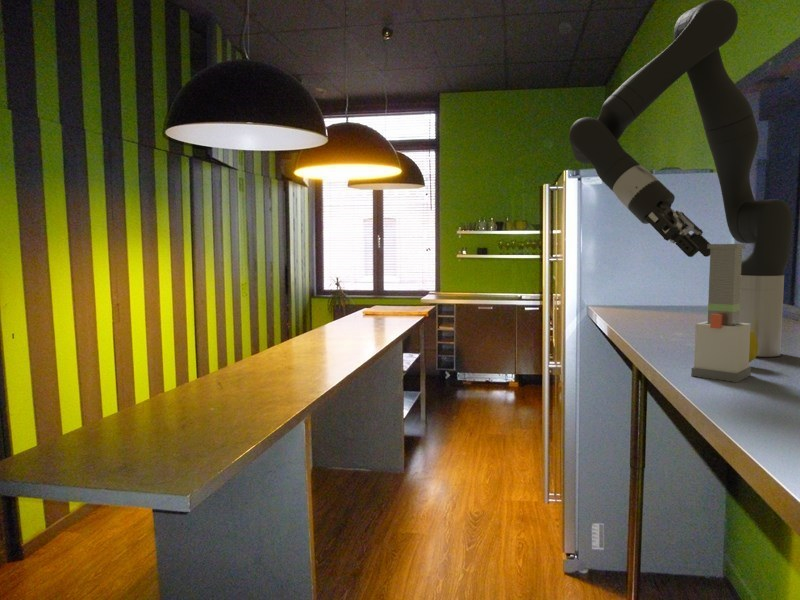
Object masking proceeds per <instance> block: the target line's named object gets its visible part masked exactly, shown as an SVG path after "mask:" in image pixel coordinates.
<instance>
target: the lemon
mask: <svg viewBox="0 0 800 600" xmlns="http://www.w3.org/2000/svg"><path fill="white" fill-rule="evenodd" d="M757 353H758V341H757V337H756V335H755V334H754V333H753V332H752V331H751V330H750V349H749V363H751V362H752V361H753V360H754V359H756V358H757V356H756V355H757Z"/></svg>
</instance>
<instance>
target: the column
mask: <svg viewBox="0 0 800 600" xmlns="http://www.w3.org/2000/svg"><path fill="white" fill-rule="evenodd" d="M707 249H710V256H709V279H708V281H709V282H708V300H707V301H708V302H707V321H708V324H710V323H711V314H722V325H725V326H737V325H739V310H740V287H741V264H742V257H743V249H746V243H713V244H712V243H710V244H707Z"/></svg>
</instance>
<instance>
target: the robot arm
mask: <svg viewBox="0 0 800 600" xmlns="http://www.w3.org/2000/svg"><path fill="white" fill-rule="evenodd" d="M738 15H739V14H738V11H737V9H736V8H735V6H734V5H733V4H732V3H731V2H729V1H728V0H708V1H704V2H702V3H700V4H698V5H696V6H695V7H692V8H690V9H689V10H687V11H685V12H684V13H683V14H681V15H680V16H679V17H678V19H677V20H676V23H675V25H674V29H673V41H672V42H671V44H669V45H668V46H667V47H666V48H665V49H663V51H661V53H659V54H658V55H656V56H655V57H654V58H653V59H652V60H650V61H649V62H647V63H646V64H645V65H644V66H643V67H641V68H640V69H639V70H637V71H636V72H635V73H634V74H632V75H631V76H630V77H628V79H627V80H625V81H624V82H623V83H622V84H621V85H620V86H619V87H618V88H616V89H615V91H614V92H613V93H612V94H610V96H608V97H607V99H606V100H604V102H603V104H602V106H601V109H600V113H599V115H598V116H597V118H594V117H592V116H591V117H590V116H585V117H581V118H579V119H576V120H575V121H574V122H573V124H571V126H570V129H569V133H568V139H569V144H570V147H571V151H572V155H573V157H574V159H575V160H577V162H579V163H580V164H585V165H588V164H590V165H592V166H593V168H594V169H595V172H596V174H597V176H598V177H599V179H600V180H601V181H602V182H603V183H604V184H605V186H607V187H608V188H609V189H610V190H611V191H612V193H614V195H615V196H616V198H617V199H618V200H619V201H620V202H621V204H623V205H624V207H626V208H627V209H628V211H630V212H631V213H632V215H634V217H636V219H637V220H639V221H640V223H642V224H645V225H648V224H650V225H651V226H652V228H653V229H654V230H655V231H656V232H658V234H659V235H660V236H662V238H663V240H665V241H666V242H667V241H670V243H672V244H675V245H676V246H677V247H678V248H679V249H680V250H681V251H682V253H684V254H685V255H686V256H687V257H689V258H693V257H694V256H695V255H696V254H697V253H698V252H699V253H700V254H701V255H702V256H703V257H710V249H707V244H711V243H710V242H709V241H708V240H707V239H706V238H705V237H704V236H703V234H704V231H703V230H702V229H701V228H699V227H698V225H696V224H695V223H694V222H693V221H692V220H691V219H690V218H689V217H688V216H687V215H686V214H685V213H684V212H682V211H679V210H674V209H672V208H671V207H672V205H673V204H674V201H675V195H674V194H673V192H672V191H671V190H670V189H668V188H667V187H666V186H665V185H664V184H663V183H662V182H661V181H660V180H659V179H658V178H657V177H656V176H654V174H652V172H651V171H649V170H647V168H645V167H643V166H642V164H640V163H639V162H638V161H637V160H636V159H634V157H633V156H632V155H630V154H629V153H628V152H627V151H626V150H625V149H624V148H623V146H622V145H621V144H620V142H619V140H620V138H621V136H622V135H623V133H624V132H625V131H626V129H627V128H628V127H629V126H630V125H631V124H632V123H633V122H634V121H635V120H636V119H637V118H638V117H640V115H642V113H644V111H645V112H646V110H647V109H648V108H649V107H650V106H651V105H652V104H653V103H654V102H655V101H656V100H657V99H658V98H659V97H660V96H661V95H662V94H663V93H664V92H665V91H667V89H669V88H670V87H671V86H672V85H673V84H675V82H676V81H678V79H680V78H681V77H682V76H683V75H684V74H686V75H687V77H688V79H689V82H690V84H691V88H692V91H693V95H694V98H695V103H696V105H697V108H698V111H699V115H700V117H701V122H702V126H703V130H704V133H705V137H706V141H707V143H708V147H709V149H710V150H709V151H710V153H711V156H712V158H713V163H714V167H715V170H716V174H717V179H718V182H719V185H720V191H721V196H722V197H721V198H722V202H723V207H724V208H723V209H724V215H725V219H726V225H727V227H728V231H729V233H730V235H731V236H732V238H733V239H734V240H735V241H736V242H738V243H739V244H755V245H754V249H753V252H751V254H749V255H748V256H747V257H745V258H743V259H742V264H741V287H740V310H739V323H749V324H751V327H750V330H751V331H752V332H753V333H754V334H755V335H756V337H757V341H758V353H757V355H756V357H765V358H766V357H767V358H769V357H779V356H781V347H782V329H783V313H784V311H783V309H784V290H785V288H784V287H785V271H786V267H787V264H788V261H789V258H790V253H791V243H792V242H791V241H792V232H793V215H792V211H791V207H790V206H789V204H788V203H787V202H786V201H785V200H782V199H777V198H773V199H762V200H761V199H760V200H759V199H758V200H755V197H754V195H753V191H752V186H751V180H750V175H751V168H752V165H753V162H754V159H755V157H756V156H755V155H756V152H757V151H758V150H757V149H758V144H759V138H760V137H759V135H760V134H759V131H758V126H757V122H756V120H755V119H756V118H755V115H754V112H753V108H752V106H751V103H750V102H749V100H748V99H747V97H746V96H745V94H743V92H742V91H741V90H740V89H739V87H738V86H737V84H736V83H735V82H734V81H733V80H732V79H731V77H730V76H729V74H728V71H727V70H726V68H725V65H724V62H723V59H722V54H721V51H720V48H721V47H722V46H724V45H726V43H728V42H729V40H731V38H732V37H733V36H734V34H735V32H736V30H737V27H738V23H739V16H738ZM690 232H692V233H691V234H690Z"/></svg>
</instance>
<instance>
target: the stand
mask: <svg viewBox="0 0 800 600" xmlns="http://www.w3.org/2000/svg"><path fill="white" fill-rule="evenodd" d="M750 327H751V324H749V323H739V325H737V326H725V325H722V314H711V323H710V324H708V320H706V321H701V322H698V323H695V335H694V337H695V338H694V358H693V359H694V361H693V362H694V363H693V364H694V366H693V367H691V377H694V376H697V377H696V378H701V377H704V378H703V379H709V378H712V379H711V380H716V379H719V380H718V381H723V380H726V381H725V382H730V381H732V382H733V383H739V382H741V381H743V380H745V379H746V378H748V376H749V377H750V375H751V374H752V367H750V365H749V364H750V362H749V349H750ZM744 378H745V379H744Z"/></svg>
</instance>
